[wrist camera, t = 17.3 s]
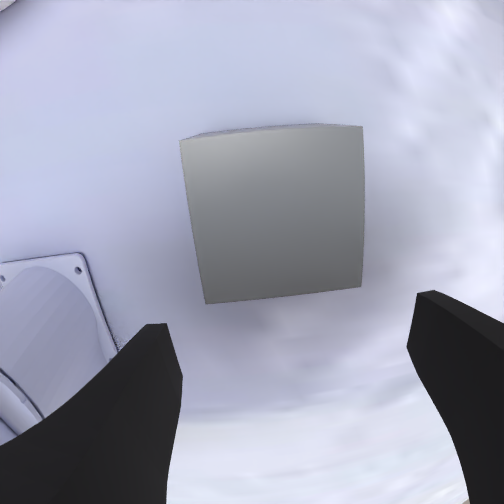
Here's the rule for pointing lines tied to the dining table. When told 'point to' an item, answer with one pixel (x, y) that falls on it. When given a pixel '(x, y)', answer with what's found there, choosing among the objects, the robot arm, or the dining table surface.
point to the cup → (5, 3)
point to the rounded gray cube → (276, 209)
